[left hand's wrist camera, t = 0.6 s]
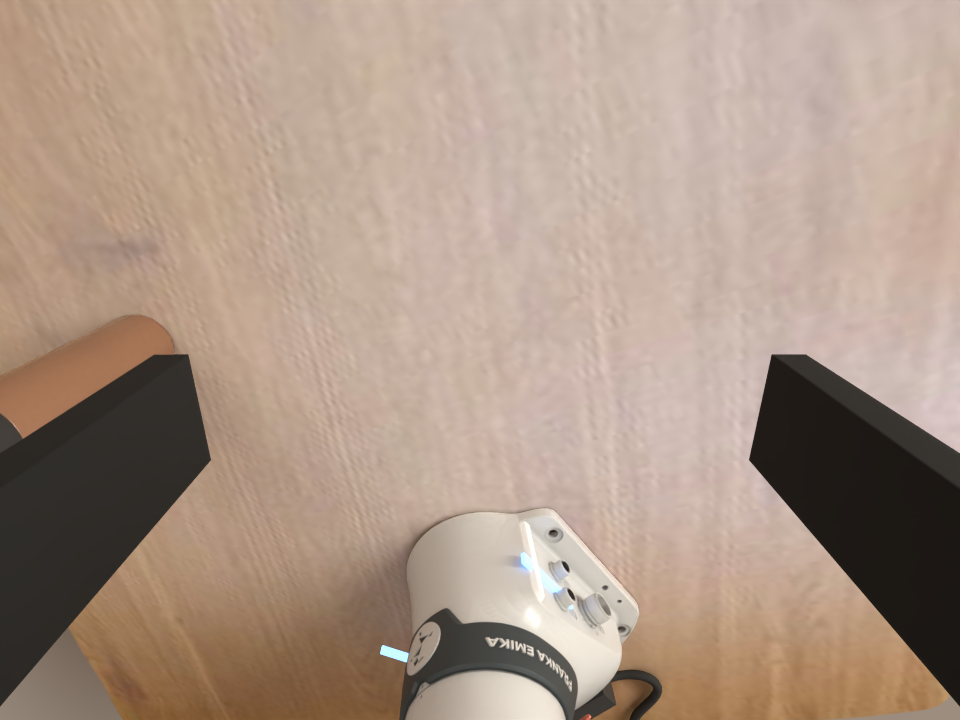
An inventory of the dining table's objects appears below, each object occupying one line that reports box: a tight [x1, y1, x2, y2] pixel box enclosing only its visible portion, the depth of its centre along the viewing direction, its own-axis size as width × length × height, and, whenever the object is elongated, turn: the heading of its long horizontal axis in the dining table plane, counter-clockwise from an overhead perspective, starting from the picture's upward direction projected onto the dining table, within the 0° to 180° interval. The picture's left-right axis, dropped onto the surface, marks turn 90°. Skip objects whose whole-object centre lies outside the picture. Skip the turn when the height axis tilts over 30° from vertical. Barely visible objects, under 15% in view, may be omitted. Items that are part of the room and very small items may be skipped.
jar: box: [0, 315, 174, 439], centre depth 34 cm, size 5×5×17 cm
